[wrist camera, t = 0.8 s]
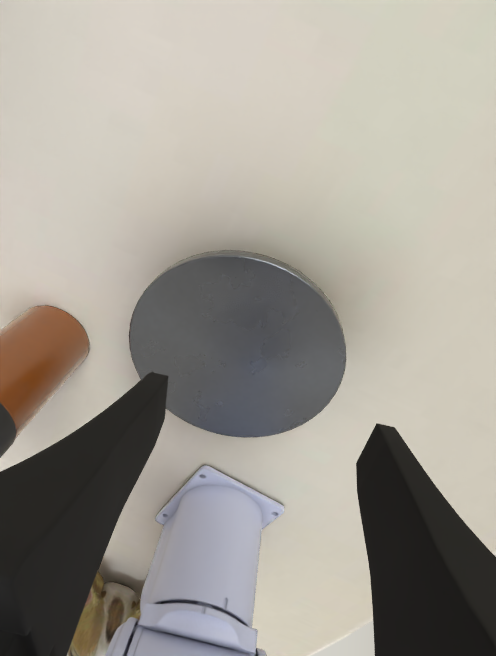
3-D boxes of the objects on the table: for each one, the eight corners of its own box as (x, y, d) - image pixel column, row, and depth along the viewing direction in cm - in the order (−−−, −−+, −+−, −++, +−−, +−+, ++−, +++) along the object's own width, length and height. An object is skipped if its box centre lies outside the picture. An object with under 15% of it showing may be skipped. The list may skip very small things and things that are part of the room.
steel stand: (267, 431, 27) (264, 464, 25) (119, 347, 25) (98, 374, 22) (385, 313, 21) (396, 342, 19) (205, 191, 19) (189, 203, 16)
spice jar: (77, 377, 27) (-14, 485, 19) (12, 342, 26) (-110, 441, 18) (100, 330, 24) (7, 432, 17) (30, 290, 24) (-103, 379, 16)
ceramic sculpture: (16, 695, 38) (43, 637, 31) (61, 601, 46) (91, 538, 39) (114, 725, 40) (160, 675, 33) (142, 629, 47) (184, 572, 40)
